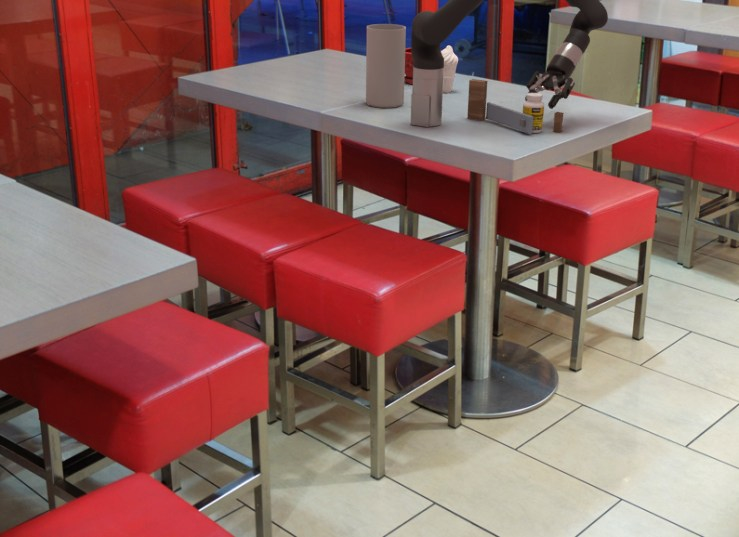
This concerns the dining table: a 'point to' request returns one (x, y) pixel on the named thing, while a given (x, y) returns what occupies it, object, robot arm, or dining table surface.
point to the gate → (509, 118)
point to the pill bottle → (534, 110)
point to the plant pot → (408, 66)
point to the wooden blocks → (479, 104)
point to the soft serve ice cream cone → (449, 68)
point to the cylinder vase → (385, 65)
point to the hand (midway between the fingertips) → (538, 104)
